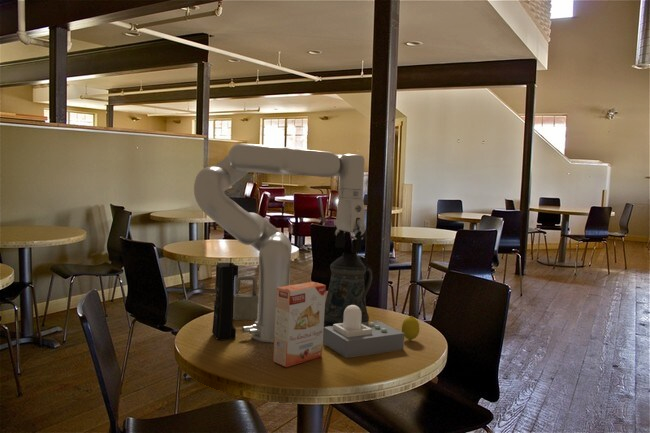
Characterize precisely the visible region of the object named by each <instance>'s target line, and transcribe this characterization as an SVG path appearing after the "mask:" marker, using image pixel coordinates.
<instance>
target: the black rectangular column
mask: <svg viewBox="0 0 650 433" xmlns="http://www.w3.org/2000/svg"><path fill="white" fill-rule="evenodd" d="M229 259H230V260H229V262H217V264H216V269H215V273H216V274H215V290H216V293H215V300H214V305H213V321H212V332H211V333H212V334H213V336H214V338H215V339H216V340H217V341H225V340H233V339H236V331H237V329H236V327H235V326H234V319H233V304H234V295H235V277H236V276H237V275H238V273H239V272H238V267H239V266H237V265H236V264H235V263H234V262H232V257H230V258H229Z"/></svg>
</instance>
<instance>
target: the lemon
mask: <svg viewBox="0 0 650 433" xmlns="http://www.w3.org/2000/svg"><path fill="white" fill-rule="evenodd" d="M401 332H403V333H404V339H405V338H406V339H407V340H408V341H409V342H410V341H412V340H414V339H416V338H417V337H418V336H419V334H420V322H419V320H418V319H417V318H416V317H414V316H412V315H410V316H408V317H405V319H403V322H402V324H401Z"/></svg>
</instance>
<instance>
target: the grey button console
mask: <svg viewBox="0 0 650 433" xmlns="http://www.w3.org/2000/svg"><path fill="white" fill-rule="evenodd" d="M323 345H325V346H327V347H328V348H329V349H331V350H333V351H334V352H336V353H338V355H339V354H340V356H342V357H343V358H346V359H349V358H355V357H356V358H357V357H362V356H369V355H377V354H382V353H388V352H395V351H396V352H397V351H402V350H404V346H405V337H404V333H403V332H402V330H401V331H400V330H399V329H397V328H394V327H392V326H390V325H388V324H386V323H384V322H382V321H380V320H372V321H370V320H369V321H368V322H362V323H361V329H360V330H352V331H348V330H346V329H345V328H343V323H338V324H333V326H328V327H324V329H323Z"/></svg>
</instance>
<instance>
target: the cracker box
mask: <svg viewBox="0 0 650 433" xmlns="http://www.w3.org/2000/svg"><path fill="white" fill-rule="evenodd" d="M326 294H327V285H326V284H323V283H319V282H315V281H308V282H302V283H295V284H290V285H289V286H283V287H277V294H276V314H275V334H274V343H273V357H272V358H273V359H272V360H273V361H272V363H276V364H278V365H279V366H282V367H285V368H290V367H292V366H295V365H299V364H301V363H305V362H308V361H311V360H315V359H317V358H320V357H322V356H323V346H324V343H323V329H324V312H325V302H326V297H327V295H326Z"/></svg>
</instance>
